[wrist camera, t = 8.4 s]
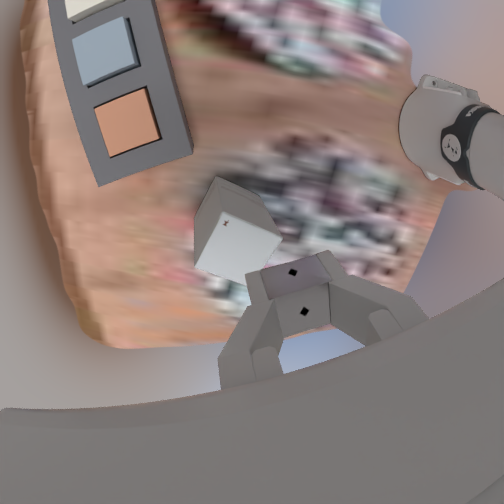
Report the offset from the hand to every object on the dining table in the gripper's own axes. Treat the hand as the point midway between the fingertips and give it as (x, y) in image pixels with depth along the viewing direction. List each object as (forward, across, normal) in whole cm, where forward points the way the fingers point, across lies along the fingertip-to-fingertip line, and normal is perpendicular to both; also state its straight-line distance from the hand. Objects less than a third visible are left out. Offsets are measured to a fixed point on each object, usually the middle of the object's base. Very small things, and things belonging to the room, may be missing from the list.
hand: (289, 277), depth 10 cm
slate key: (+27, +10, -15) cm, 33 cm away
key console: (+31, +10, -15) cm, 36 cm away
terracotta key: (+29, +10, -6) cm, 31 cm away
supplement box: (+31, +2, +10) cm, 33 cm away
